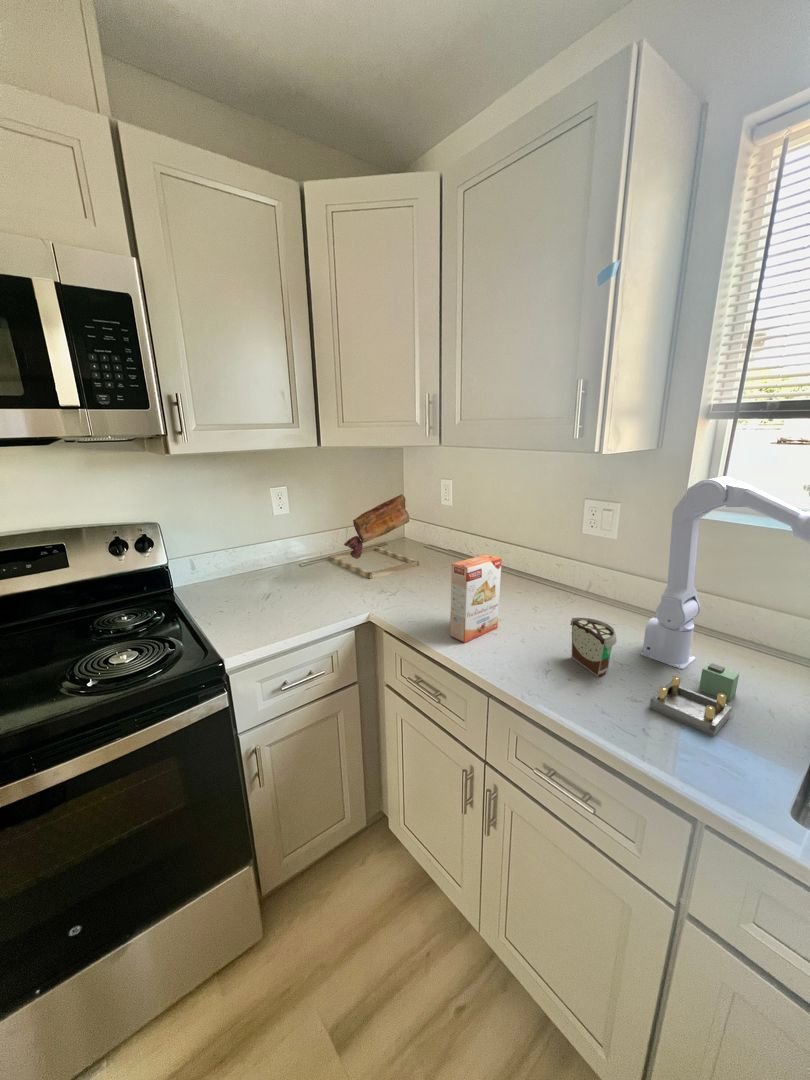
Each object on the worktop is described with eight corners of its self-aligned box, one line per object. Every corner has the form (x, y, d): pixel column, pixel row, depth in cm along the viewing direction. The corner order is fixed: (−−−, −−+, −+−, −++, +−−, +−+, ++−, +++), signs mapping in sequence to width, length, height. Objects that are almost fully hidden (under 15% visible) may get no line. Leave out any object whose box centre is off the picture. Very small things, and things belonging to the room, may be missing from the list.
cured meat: (351, 563, 156) (343, 551, 160) (411, 532, 162) (402, 521, 166) (339, 531, 143) (330, 518, 147) (405, 497, 148) (396, 486, 152)
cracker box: (465, 644, 115) (467, 567, 110) (449, 636, 120) (449, 562, 114) (499, 628, 124) (502, 557, 119) (483, 621, 128) (485, 552, 123)
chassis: (649, 708, 88) (652, 687, 87) (668, 691, 93) (671, 672, 92) (713, 736, 79) (717, 714, 78) (730, 716, 85) (734, 695, 84)
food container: (625, 676, 99) (630, 635, 97) (602, 680, 98) (607, 639, 95) (588, 650, 111) (592, 613, 108) (567, 654, 109) (570, 617, 107)
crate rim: (329, 562, 188) (328, 556, 187) (375, 552, 202) (375, 546, 202) (369, 581, 164) (369, 573, 164) (419, 568, 179) (418, 561, 178)
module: (698, 689, 94) (702, 666, 92) (705, 683, 96) (709, 660, 95) (729, 701, 90) (733, 677, 88) (735, 695, 92) (739, 670, 90)
